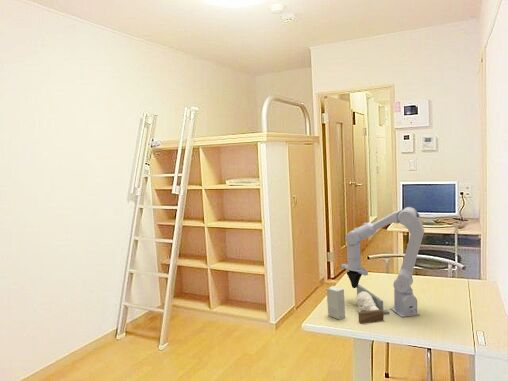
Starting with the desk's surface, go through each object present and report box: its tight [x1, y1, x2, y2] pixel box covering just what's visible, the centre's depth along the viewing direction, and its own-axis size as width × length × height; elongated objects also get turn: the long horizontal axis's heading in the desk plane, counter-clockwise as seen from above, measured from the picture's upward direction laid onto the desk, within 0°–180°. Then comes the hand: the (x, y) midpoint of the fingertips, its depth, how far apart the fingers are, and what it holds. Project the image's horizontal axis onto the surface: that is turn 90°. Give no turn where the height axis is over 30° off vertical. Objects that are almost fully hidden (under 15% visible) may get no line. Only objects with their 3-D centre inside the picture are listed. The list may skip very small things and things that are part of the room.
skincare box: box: [326, 285, 346, 320], centre depth 165 cm, size 6×4×12 cm
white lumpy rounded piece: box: [355, 291, 379, 312], centre depth 167 cm, size 6×8×12 cm
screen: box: [356, 284, 390, 316], centre depth 176 cm, size 22×4×6 cm, turn 11°
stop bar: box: [358, 309, 384, 324], centre depth 160 cm, size 2×10×4 cm, turn 101°
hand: (354, 287), depth 178 cm, fingers closed
